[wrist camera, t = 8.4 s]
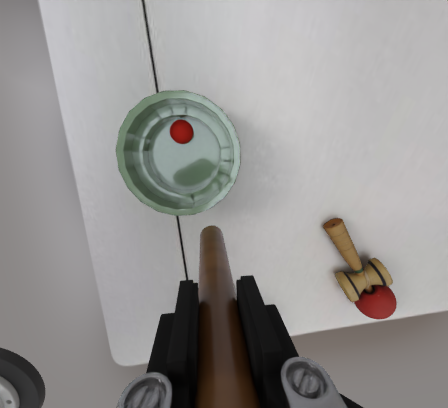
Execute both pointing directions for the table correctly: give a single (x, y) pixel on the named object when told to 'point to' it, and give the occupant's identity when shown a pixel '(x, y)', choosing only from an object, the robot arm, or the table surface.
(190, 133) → the cherry tomato
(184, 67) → the table surface
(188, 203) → the mixing bowl
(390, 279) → the kendama
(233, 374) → the stick
